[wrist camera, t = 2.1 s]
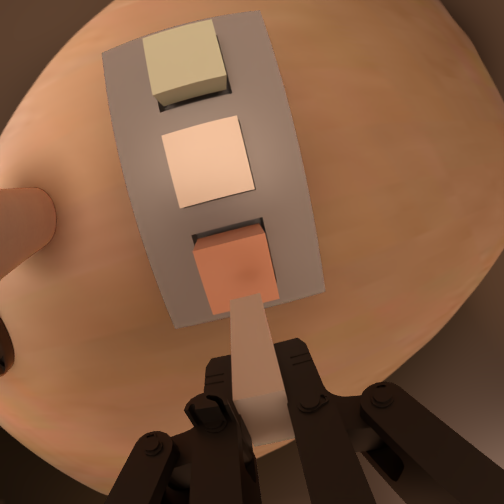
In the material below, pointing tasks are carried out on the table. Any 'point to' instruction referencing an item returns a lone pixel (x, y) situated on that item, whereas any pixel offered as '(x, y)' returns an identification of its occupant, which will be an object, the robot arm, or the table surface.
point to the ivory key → (208, 161)
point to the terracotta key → (235, 266)
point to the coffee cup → (24, 225)
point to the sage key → (184, 62)
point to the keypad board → (225, 208)
